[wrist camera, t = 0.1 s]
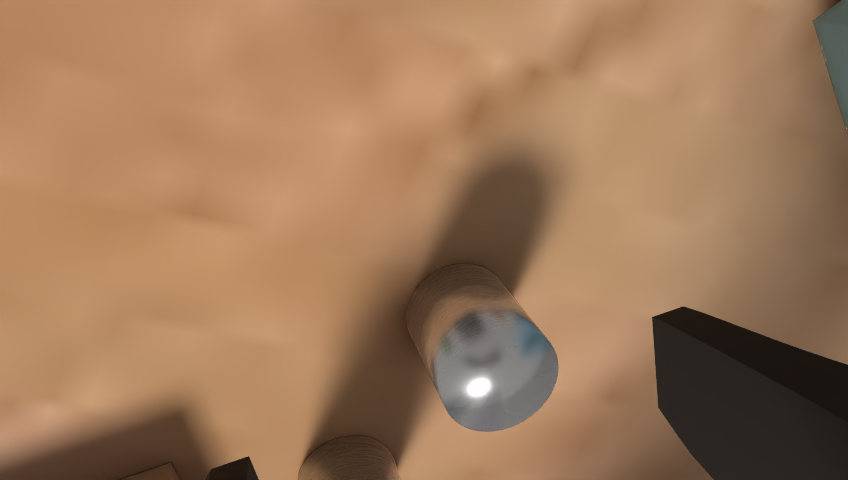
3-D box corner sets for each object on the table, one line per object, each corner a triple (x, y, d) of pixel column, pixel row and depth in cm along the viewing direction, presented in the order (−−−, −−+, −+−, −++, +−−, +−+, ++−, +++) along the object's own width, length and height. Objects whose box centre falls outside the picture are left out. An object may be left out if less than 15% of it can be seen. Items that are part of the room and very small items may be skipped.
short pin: (513, 336, 24) (564, 407, 21) (417, 369, 24) (454, 447, 20) (497, 249, 23) (550, 310, 19) (395, 282, 22) (430, 350, 19)
